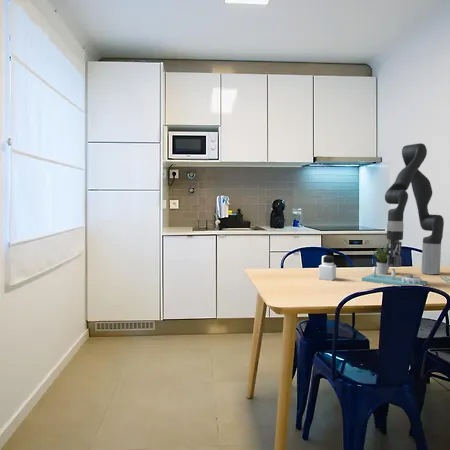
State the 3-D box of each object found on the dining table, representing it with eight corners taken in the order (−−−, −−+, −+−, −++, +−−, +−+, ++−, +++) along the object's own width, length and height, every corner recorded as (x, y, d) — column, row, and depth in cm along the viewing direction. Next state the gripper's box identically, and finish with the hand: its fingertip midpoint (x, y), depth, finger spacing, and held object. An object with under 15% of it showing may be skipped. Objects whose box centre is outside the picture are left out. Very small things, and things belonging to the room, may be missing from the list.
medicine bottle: (336, 278, 212) (336, 255, 211) (332, 280, 205) (332, 257, 205) (322, 276, 215) (323, 254, 214) (318, 279, 209) (319, 256, 208)
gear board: (373, 276, 218) (373, 264, 217) (427, 284, 200) (428, 270, 199) (361, 280, 206) (362, 267, 206) (418, 288, 189) (418, 274, 188)
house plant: (393, 271, 234) (395, 243, 233) (402, 276, 220) (403, 246, 219) (368, 270, 235) (369, 242, 234) (374, 275, 221) (375, 245, 220)
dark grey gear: (389, 264, 207) (390, 254, 207) (402, 265, 203) (403, 256, 203) (385, 266, 203) (385, 256, 202) (398, 267, 198) (398, 257, 198)
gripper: (392, 228, 210) (391, 260, 211) (382, 230, 199) (380, 264, 200) (407, 229, 205) (406, 262, 206) (397, 231, 194) (396, 265, 195)
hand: (393, 263), depth 203 cm, fingers closed on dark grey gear, 6 cm apart
